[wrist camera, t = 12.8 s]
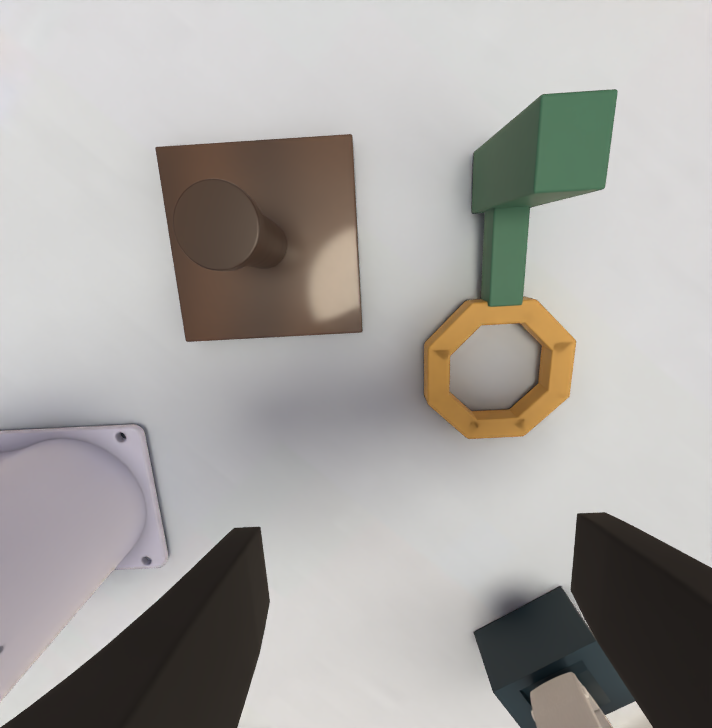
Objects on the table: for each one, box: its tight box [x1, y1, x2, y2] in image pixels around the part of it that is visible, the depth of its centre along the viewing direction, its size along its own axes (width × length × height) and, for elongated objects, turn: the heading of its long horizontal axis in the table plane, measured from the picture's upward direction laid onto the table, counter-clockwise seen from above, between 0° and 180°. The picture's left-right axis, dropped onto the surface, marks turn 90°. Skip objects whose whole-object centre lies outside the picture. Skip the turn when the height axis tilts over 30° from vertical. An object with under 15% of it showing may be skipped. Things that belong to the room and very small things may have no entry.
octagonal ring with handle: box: [424, 89, 617, 439], centre depth 14 cm, size 12×6×6 cm, turn 3°
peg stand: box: [156, 134, 362, 342], centre depth 13 cm, size 8×8×6 cm
